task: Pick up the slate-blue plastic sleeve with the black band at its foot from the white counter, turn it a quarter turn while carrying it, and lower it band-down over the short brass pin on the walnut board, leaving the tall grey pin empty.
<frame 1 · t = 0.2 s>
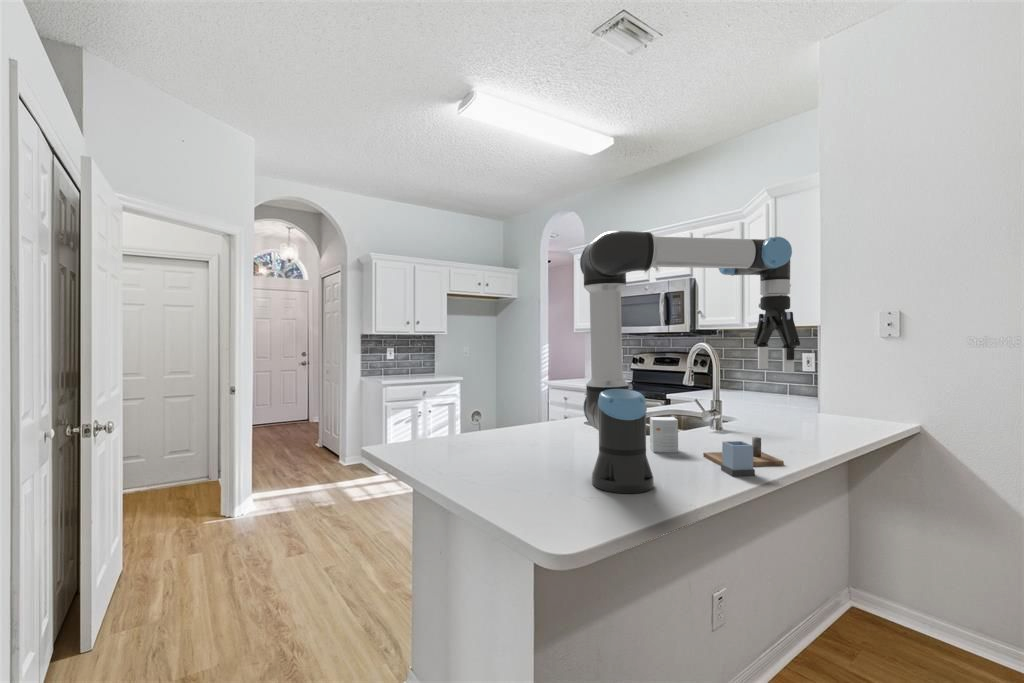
hand: (775, 370, 141), 27 cm above the countertop, fingers open, 13 cm apart
small box: (663, 451, 160), on the countertop
pin board: (742, 460, 147), on the countertop
sleeve: (737, 472, 134), on the countertop
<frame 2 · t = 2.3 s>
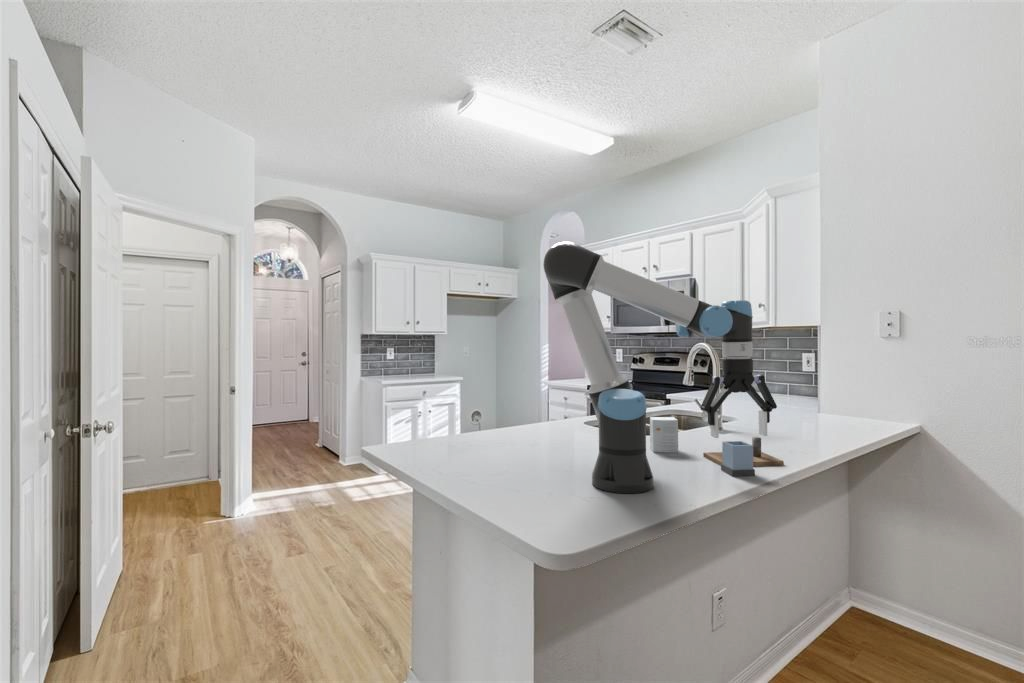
hand: (739, 436, 134), 10 cm above the countertop, fingers open, 13 cm apart
nothing on the countertop moved.
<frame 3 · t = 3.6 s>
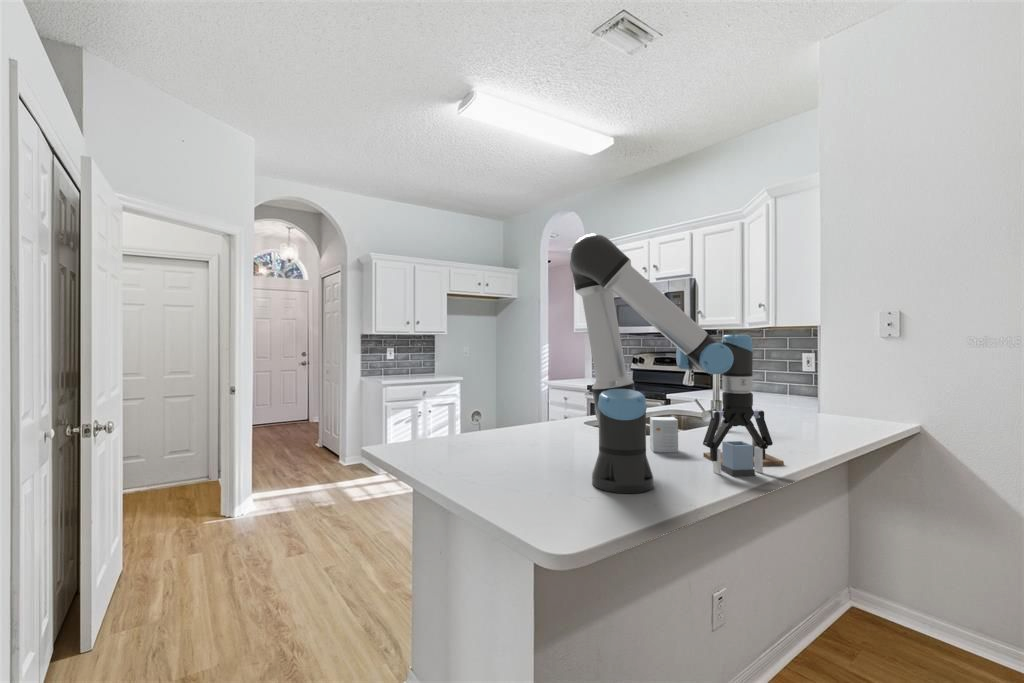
hand: (737, 472, 134), 0 cm above the countertop, fingers open, 11 cm apart
nothing on the countertop moved.
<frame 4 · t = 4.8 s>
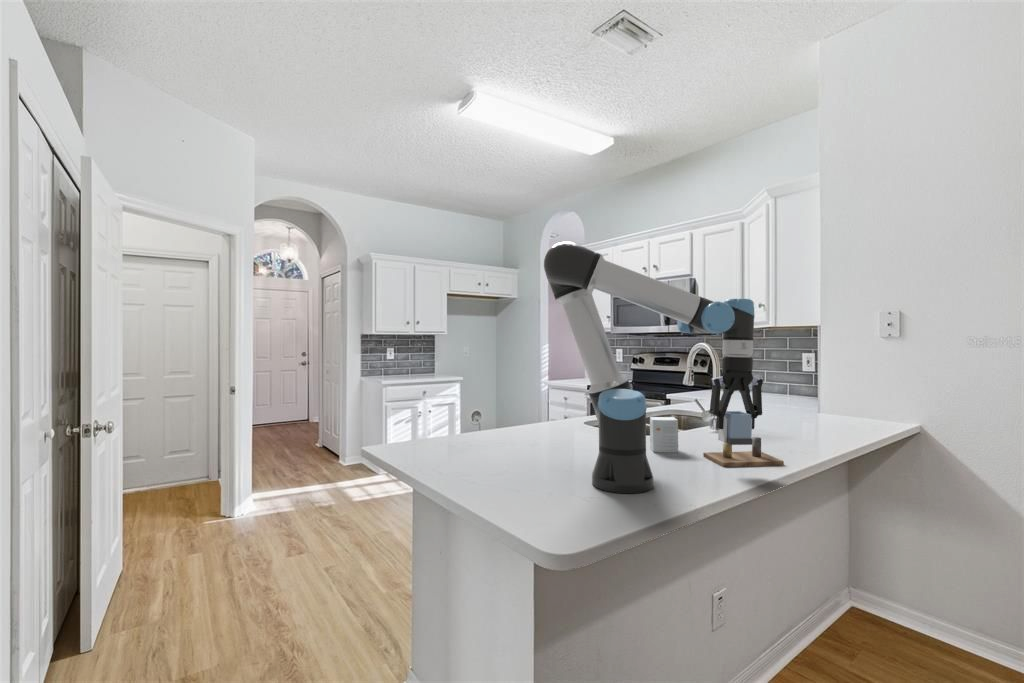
hand: (735, 440, 134), 9 cm above the countertop, fingers closed on sleeve, 6 cm apart
sleeve: (735, 442, 134), point 8 cm above the countertop, touching gripper
everything else where it was.
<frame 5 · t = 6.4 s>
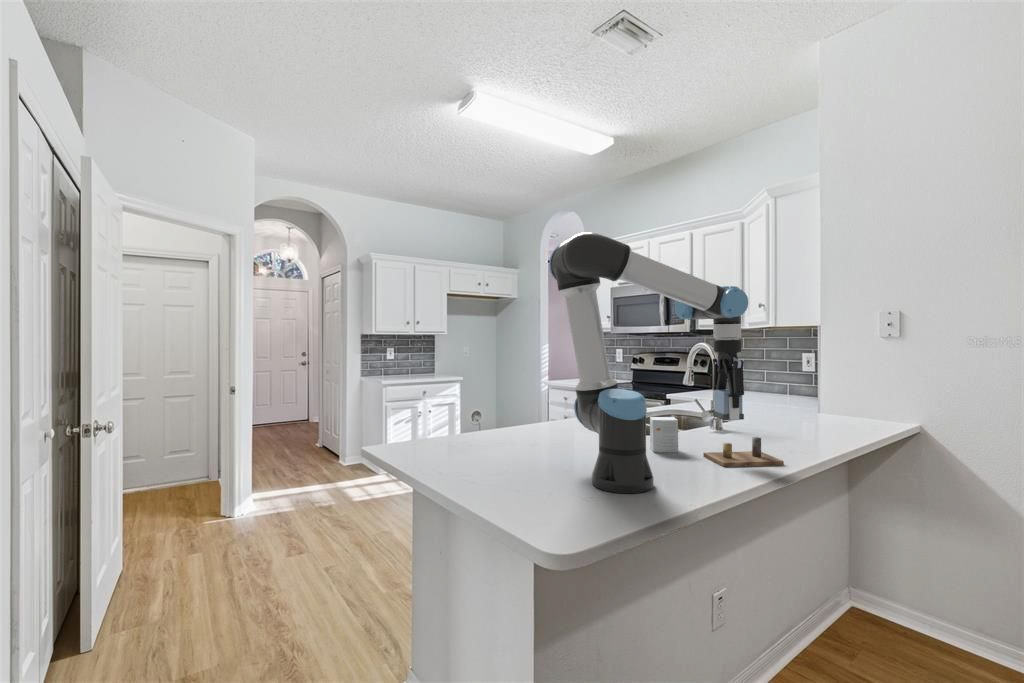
hand: (728, 416, 146), 13 cm above the countertop, fingers closed on sleeve, 6 cm apart
sleeve: (728, 417, 146), point 13 cm above the countertop, touching gripper
everything else where it was.
when the fingers open (2 cm above the countertop, at t = 8.4 s): sleeve stays where it is, resting on pin board.
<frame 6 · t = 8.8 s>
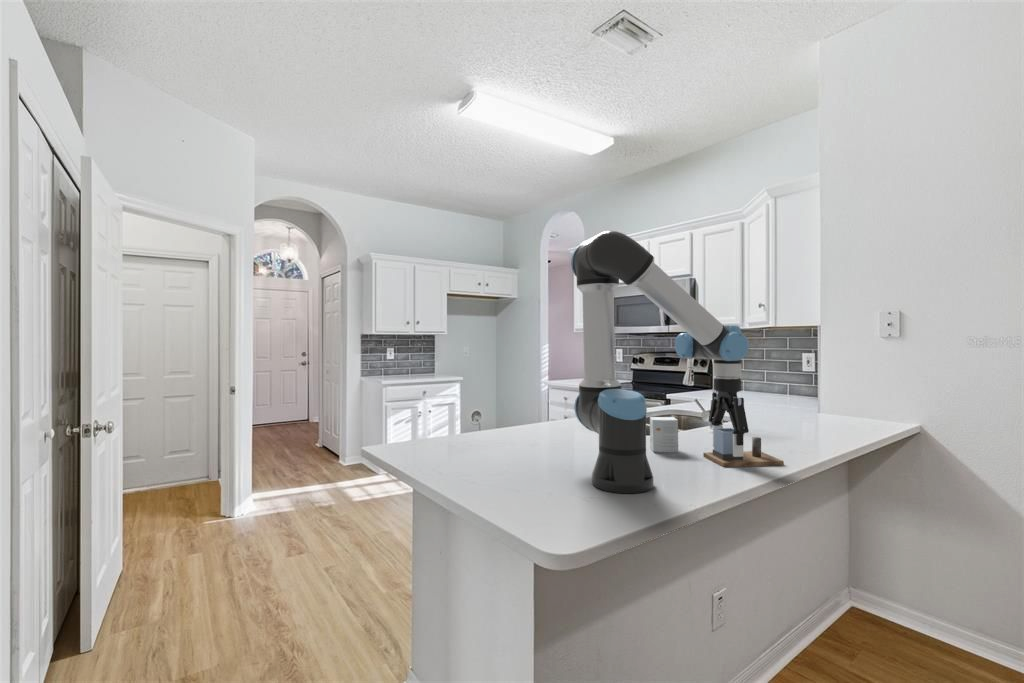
hand: (727, 451, 146), 3 cm above the countertop, fingers open, 11 cm apart
sleeve: (727, 457, 146), point 1 cm above the countertop, touching pin board
everything else where it was.
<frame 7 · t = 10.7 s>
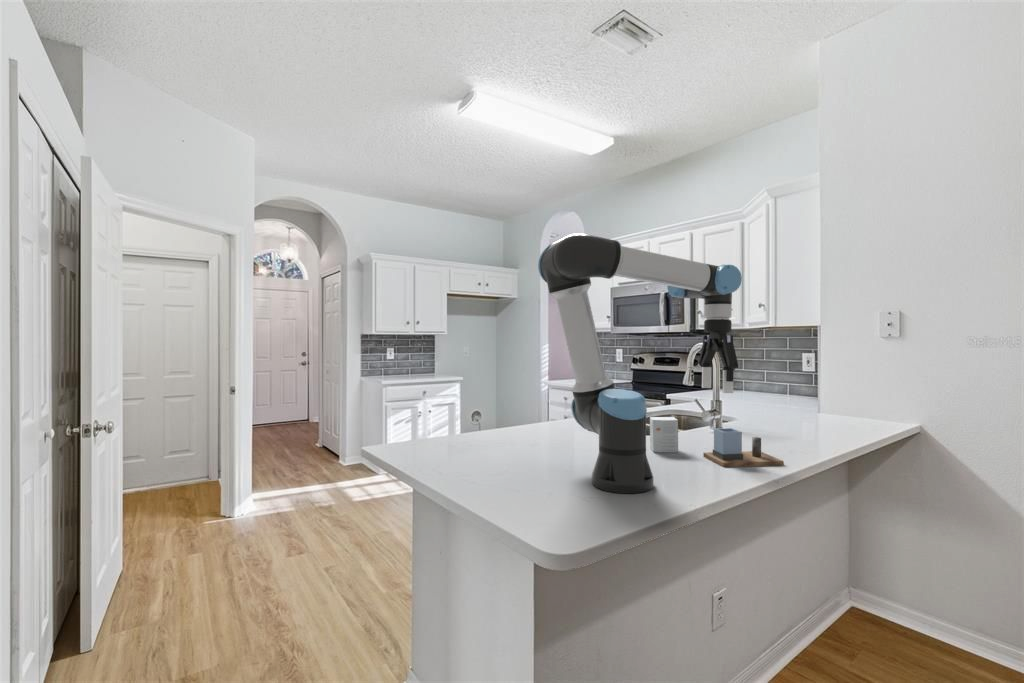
hand: (716, 390, 147), 21 cm above the countertop, fingers open, 13 cm apart
nothing on the countertop moved.
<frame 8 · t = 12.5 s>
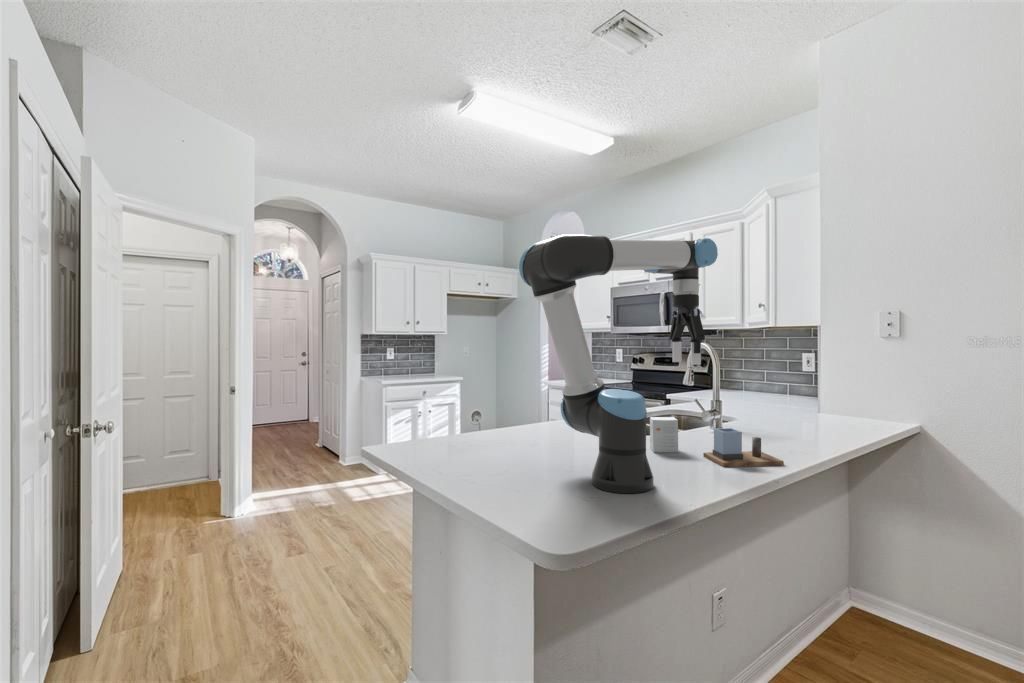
hand: (686, 363, 152), 29 cm above the countertop, fingers open, 13 cm apart
nothing on the countertop moved.
at the end: sleeve 0.0 cm from the target spot on the pin board, point 1.2 cm above the pin board's base; sleeve tilted 0°; the gripper is holding nothing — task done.
